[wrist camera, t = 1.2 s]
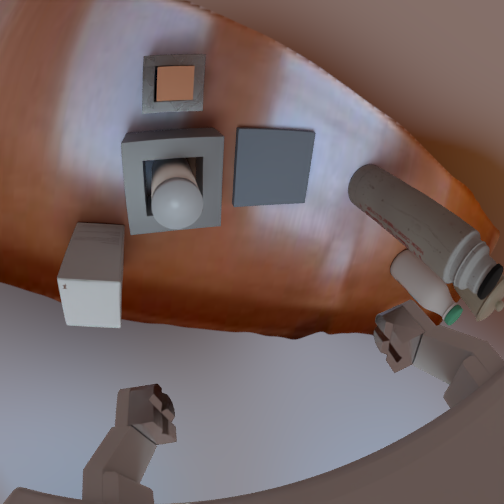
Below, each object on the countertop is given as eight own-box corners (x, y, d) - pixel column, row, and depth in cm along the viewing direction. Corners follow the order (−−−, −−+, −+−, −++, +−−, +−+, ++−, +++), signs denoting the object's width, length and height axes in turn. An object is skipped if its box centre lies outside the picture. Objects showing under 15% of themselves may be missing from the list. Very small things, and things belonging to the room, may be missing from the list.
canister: (458, 291, 88) (493, 327, 71) (439, 291, 80) (478, 333, 64) (482, 251, 79) (521, 285, 63) (467, 245, 72) (512, 285, 55)
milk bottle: (384, 267, 61) (440, 327, 45) (407, 243, 59) (466, 298, 44) (395, 279, 66) (445, 334, 50) (415, 257, 64) (469, 309, 48)
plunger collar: (145, 59, 26) (143, 56, 22) (199, 57, 28) (205, 54, 24) (144, 109, 30) (142, 114, 26) (196, 106, 32) (202, 110, 28)
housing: (126, 133, 31) (121, 143, 26) (213, 127, 34) (224, 136, 29) (132, 212, 37) (130, 235, 32) (211, 205, 40) (220, 225, 35)
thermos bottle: (357, 214, 50) (470, 320, 28) (341, 182, 45) (475, 292, 23) (387, 188, 48) (506, 279, 27) (374, 155, 44) (514, 244, 22)
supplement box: (78, 264, 38) (64, 326, 28) (77, 220, 34) (55, 277, 25) (124, 267, 41) (121, 330, 31) (126, 224, 37) (120, 282, 28)
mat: (236, 127, 35) (238, 128, 34) (311, 131, 38) (315, 132, 37) (232, 204, 41) (233, 206, 40) (301, 200, 44) (304, 203, 43)
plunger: (157, 69, 26) (157, 66, 21) (188, 68, 27) (194, 65, 22) (156, 98, 28) (156, 101, 23) (186, 96, 29) (192, 99, 24)
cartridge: (150, 153, 33) (149, 183, 25) (189, 151, 35) (203, 179, 26) (152, 190, 36) (153, 231, 27) (189, 186, 38) (203, 226, 29)
